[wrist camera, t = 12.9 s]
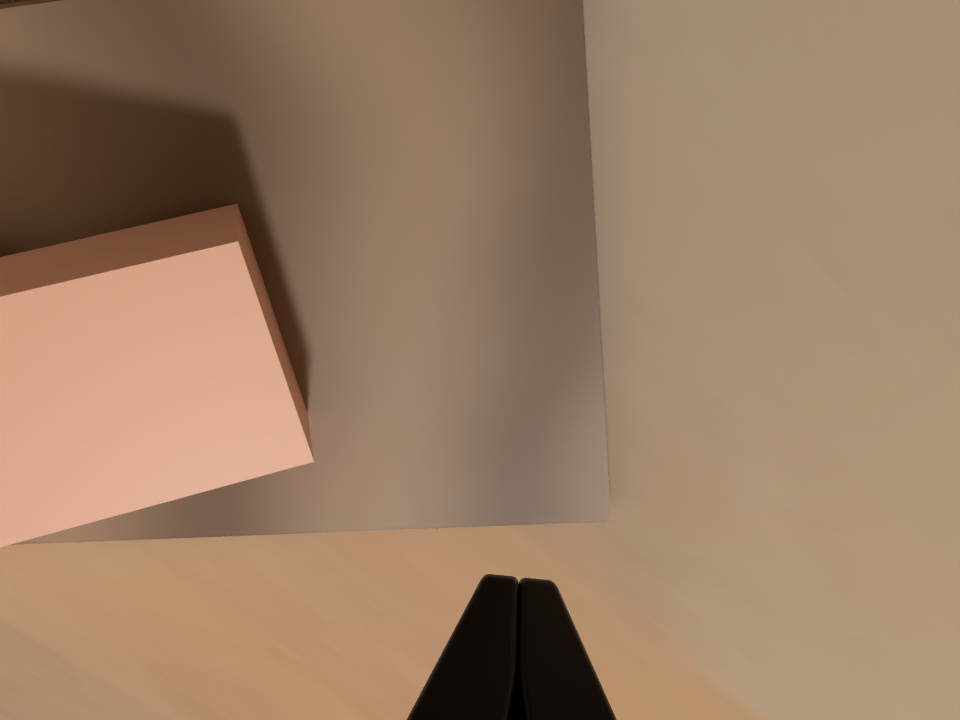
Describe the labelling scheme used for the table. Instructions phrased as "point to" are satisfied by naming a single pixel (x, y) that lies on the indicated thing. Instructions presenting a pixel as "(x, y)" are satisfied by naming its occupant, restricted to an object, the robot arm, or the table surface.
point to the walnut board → (348, 234)
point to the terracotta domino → (139, 374)
